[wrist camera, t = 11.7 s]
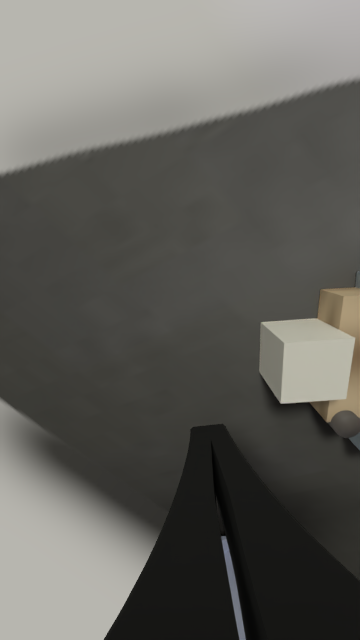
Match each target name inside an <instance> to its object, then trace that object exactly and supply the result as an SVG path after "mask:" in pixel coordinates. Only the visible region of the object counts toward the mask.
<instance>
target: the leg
mask: <svg viewBox="0 0 360 640" xmlns="http://www.w3.org/2000/svg"><path fill="white" fill-rule="evenodd" d="M317 319H319V320H321V321H323V322H325V323H327V324H329V325H331V326H333V327H335V328H337V329H339V330H341V331H343V332H345V333H347V334H348V335H350V336H352V337H354V338H355V344H354V350H353V357H352V364H351V370H350V377H349V384H348V390H347V397H346V399H341V400H327V401H313V402H309V403H310V404H311V405H312V406H313V407H314V408H315V410H316V411H317V412H318V413H319V414H320V415H321V416H322V418H323V419H324V420H325V421H326V422H327V423H328V424H329V425H330V426H331V427H332V428H333V429H334V431H335V432H336V433H337V434H338V435H339V436H340V437H343V438H351V437H354V436H356V435H357V434H358V433H359V432H360V288H356V287H353V288H337V289H321V290H320V299H319V309H318V318H317Z"/></svg>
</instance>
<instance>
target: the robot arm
mask: <svg viewBox="0 0 360 640" xmlns="http://www.w3.org/2000/svg"><path fill="white" fill-rule="evenodd" d="M215 493H216V494H215ZM216 497H217V501H218V506H219V510H220V514H221V518H222V522H223V527H224V531H225V535H226V536H221V533H220V527H219V521H218V515H217V508H216ZM104 640H360V580H358V579H357V578H356V577H355V576H354V575H353V574H352V573H351V572H349V571H348V570H347V569H346V568H345V567H344V566H343V565H342V564H341V563H340V562H339V561H338V560H336V559H335V558H334V557H333V556H332V555H331V554H330V553H329V552H328V551H327V550H326V549H325V548H324V547H323V546H322V545H321V544H320V543H319V542H318V541H316V540H315V539H314V538H313V537H312V536H311V535H310V534H309V533H308V532H307V531H306V530H305V529H304V528H303V527H302V526H301V525H300V523H299V522H298V521H297V520H296V519H295V518H294V517H293V516H292V515H291V514H290V513H289V512H288V511H287V510H286V509H285V507H284V506H283V505H282V504H281V503H280V502H279V501H278V500H277V498H276V497H275V496H274V495H273V494H272V493H271V491H270V490H269V489H268V488H267V486H266V485H265V484H264V483H263V482H262V480H261V479H260V478H259V477H258V475H257V474H256V473H255V471H254V470H253V469H252V467H251V466H250V464H249V463H248V462H247V460H246V459H245V458H244V456H243V455H242V453H241V452H240V450H239V449H238V447H237V446H236V444H235V443H234V441H233V439H232V438H231V436H230V434H229V432H228V431H227V429H226V426H224V425H223V424H218V425H208V426H198V427H193V428H192V429H191V434H190V443H189V449H188V453H187V458H186V462H185V465H184V469H183V473H182V476H181V480H180V483H179V486H178V489H177V492H176V495H175V498H174V500H173V503H172V506H171V508H170V511H169V514H168V516H167V518H166V521H165V523H164V526H163V528H162V530H161V533H160V535H159V537H158V539H157V541H156V544H155V546H154V548H153V550H152V552H151V554H150V556H149V559H148V561H147V563H146V565H145V567H144V568H143V571H142V572H141V574H140V576H139V578H138V580H137V582H136V584H135V585H134V588H133V589H132V591H131V593H130V595H129V597H128V599H127V601H126V602H125V604H124V606H123V608H122V610H121V611H120V613H119V615H118V617H117V618H116V620H115V622H114V623H113V625H112V627H111V628H110V630H109V632H108V633H107V635H106V637H105V638H104Z"/></svg>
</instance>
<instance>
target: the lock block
mask: <svg viewBox="0 0 360 640" xmlns="http://www.w3.org/2000/svg"><path fill="white" fill-rule="evenodd" d="M354 344H355V338H354V337H352V336H350V335H348V334H347V333H345V332H343V331H341V330H339V329H337V328H335V327H333V326H331V325H329V324H327V323H325V322H323V321H321V320H319V319H317V318H314V319H300V320H286V321H272V322H261V332H260V367H259V372H260V374H261V375H262V377H263V378H264V380H265V381H266V383H267V384H268V386H269V387H270V389H271V390H272V392H273V393H274V395H275V396H276V398H277V399H278V400H279V402H280V403H281V404H284V403H298V402H313V401H327V400H341V399H346V397H347V390H348V384H349V377H350V370H351V364H352V357H353V350H354Z"/></svg>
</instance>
